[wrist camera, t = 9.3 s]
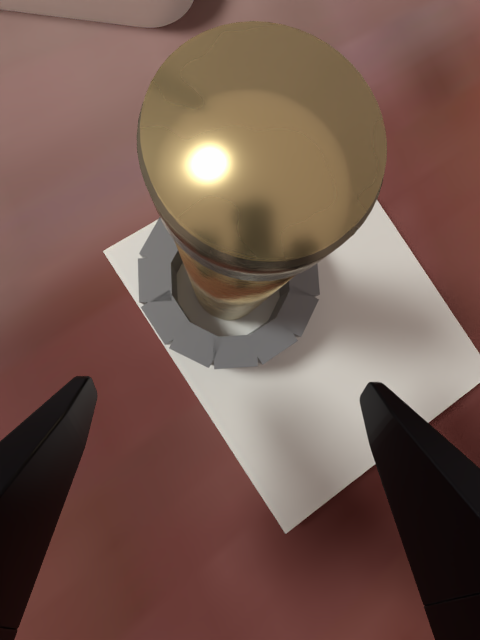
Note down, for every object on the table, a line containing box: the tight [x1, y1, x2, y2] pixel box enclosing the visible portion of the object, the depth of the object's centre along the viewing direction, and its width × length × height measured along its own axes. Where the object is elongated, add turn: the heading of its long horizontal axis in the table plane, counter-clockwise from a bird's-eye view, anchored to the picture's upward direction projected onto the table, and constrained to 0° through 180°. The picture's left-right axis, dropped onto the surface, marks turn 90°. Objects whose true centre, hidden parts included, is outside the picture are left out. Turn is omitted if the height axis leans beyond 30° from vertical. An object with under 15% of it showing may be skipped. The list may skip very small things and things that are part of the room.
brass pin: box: [137, 21, 387, 320], centre depth 10 cm, size 4×4×12 cm
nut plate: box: [103, 200, 480, 534], centre depth 16 cm, size 19×16×3 cm
